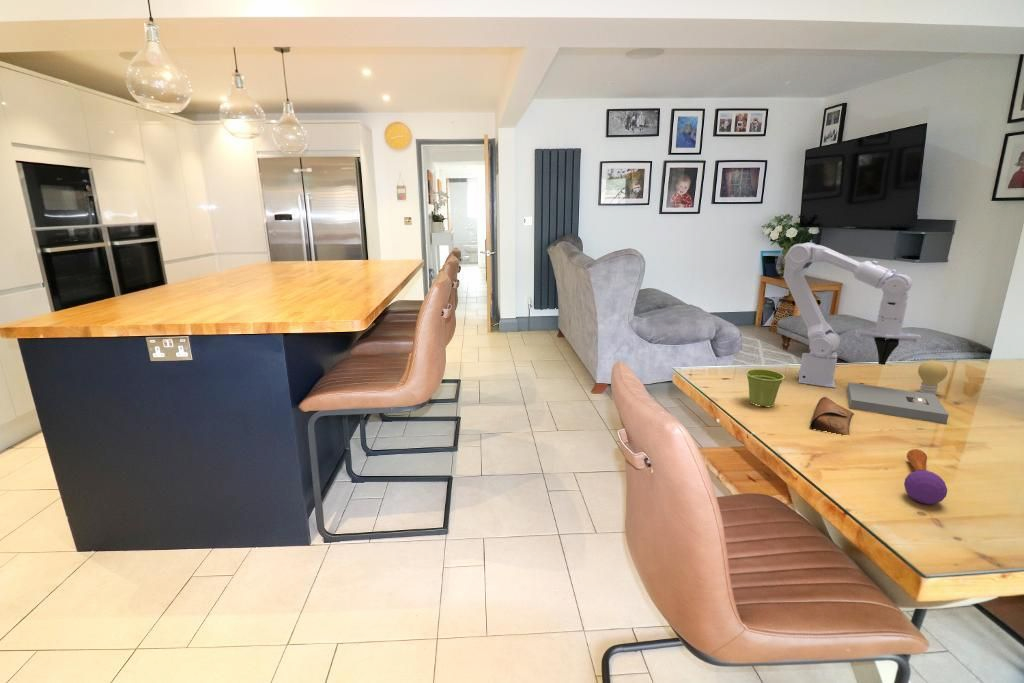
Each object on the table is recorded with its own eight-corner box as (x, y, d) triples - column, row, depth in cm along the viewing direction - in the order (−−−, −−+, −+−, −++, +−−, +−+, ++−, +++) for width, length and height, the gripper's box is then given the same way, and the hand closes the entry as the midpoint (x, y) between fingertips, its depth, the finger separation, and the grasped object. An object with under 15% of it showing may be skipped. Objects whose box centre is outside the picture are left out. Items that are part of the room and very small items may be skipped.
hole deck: (850, 408, 131) (851, 399, 130) (846, 390, 144) (848, 382, 143) (946, 423, 121) (948, 414, 120) (933, 402, 134) (935, 394, 133)
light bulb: (931, 390, 143) (938, 358, 141) (947, 398, 137) (955, 364, 135) (908, 389, 144) (915, 357, 141) (923, 397, 138) (931, 364, 135)
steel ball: (913, 411, 129) (912, 399, 128) (910, 407, 131) (909, 396, 131) (929, 410, 127) (927, 399, 127) (926, 406, 130) (924, 395, 129)
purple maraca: (940, 450, 100) (955, 487, 84) (928, 475, 101) (940, 515, 85) (905, 438, 103) (913, 471, 87) (893, 462, 104) (899, 499, 88)
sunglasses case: (851, 437, 114) (838, 411, 114) (819, 444, 118) (806, 419, 119) (854, 412, 128) (842, 389, 128) (825, 419, 132) (814, 397, 133)
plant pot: (765, 412, 128) (769, 382, 126) (735, 401, 137) (738, 372, 134) (787, 406, 133) (792, 376, 130) (757, 395, 141) (760, 367, 138)
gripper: (860, 317, 135) (851, 363, 138) (927, 322, 128) (916, 371, 131) (858, 312, 141) (850, 357, 144) (922, 317, 133) (911, 364, 137)
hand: (881, 363), depth 138 cm, fingers closed
